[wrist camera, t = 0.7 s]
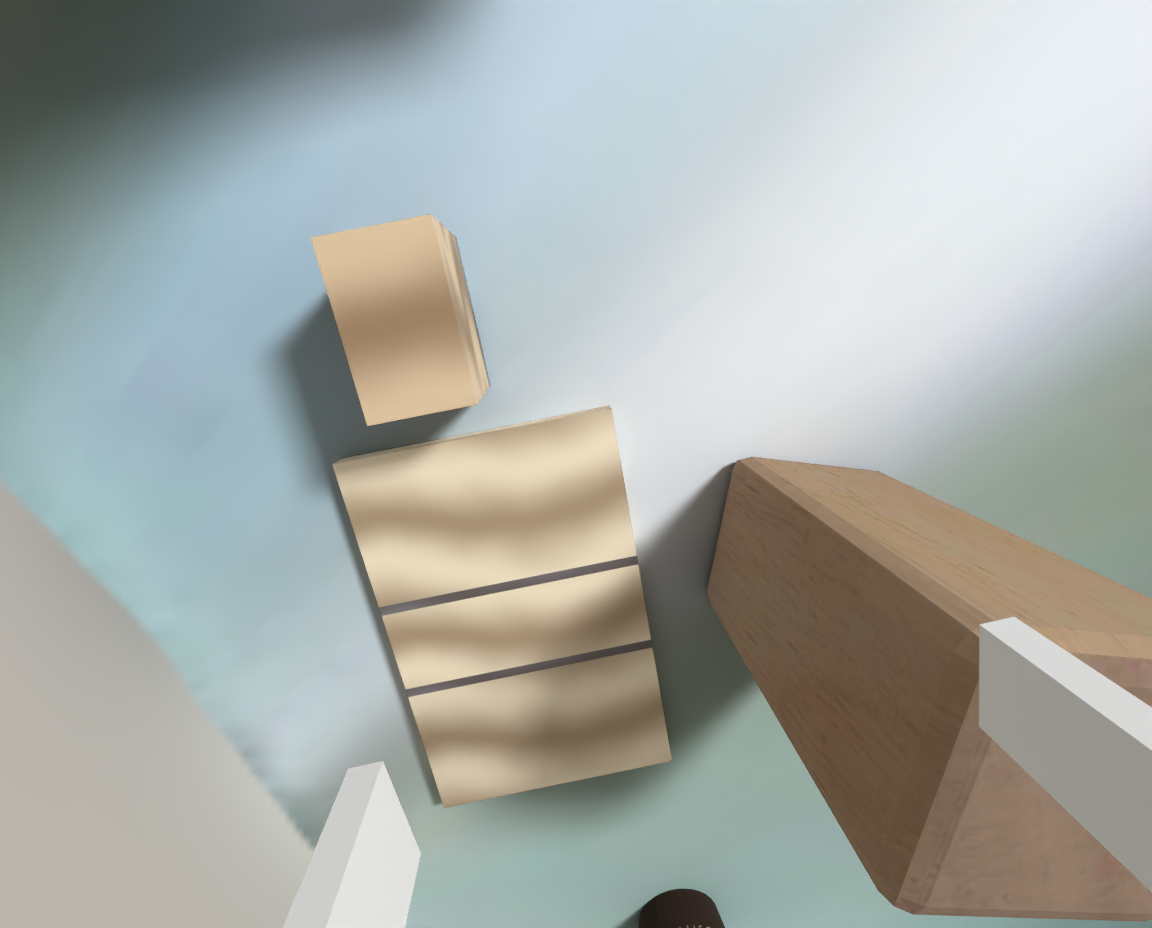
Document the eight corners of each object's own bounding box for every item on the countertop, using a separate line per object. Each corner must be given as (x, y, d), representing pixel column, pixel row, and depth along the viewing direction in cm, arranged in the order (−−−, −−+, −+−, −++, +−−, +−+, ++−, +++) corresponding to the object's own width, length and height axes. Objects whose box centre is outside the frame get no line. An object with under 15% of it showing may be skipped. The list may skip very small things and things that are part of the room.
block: (699, 597, 36) (886, 931, 16) (730, 451, 33) (993, 641, 14) (842, 610, 37) (1178, 938, 17) (883, 468, 34) (1330, 669, 15)
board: (339, 458, 32) (332, 464, 30) (609, 405, 32) (611, 409, 31) (447, 793, 38) (444, 807, 37) (668, 747, 39) (671, 761, 38)
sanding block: (363, 255, 29) (310, 237, 22) (456, 237, 29) (431, 214, 22) (404, 401, 31) (367, 426, 24) (490, 384, 31) (477, 404, 24)
